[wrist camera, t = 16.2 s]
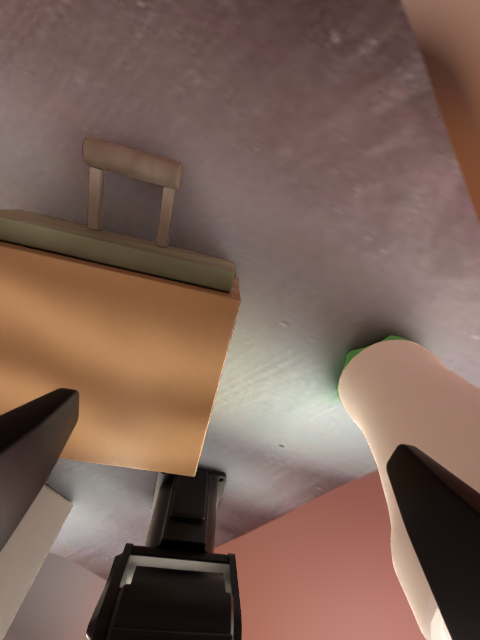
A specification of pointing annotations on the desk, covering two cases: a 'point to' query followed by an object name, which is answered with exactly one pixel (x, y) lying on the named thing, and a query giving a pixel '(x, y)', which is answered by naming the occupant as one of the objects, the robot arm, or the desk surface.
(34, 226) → the drawer
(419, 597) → the cup
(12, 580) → the vintage mobile phone
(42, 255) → the cabinet
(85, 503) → the desk surface
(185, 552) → the robot arm
